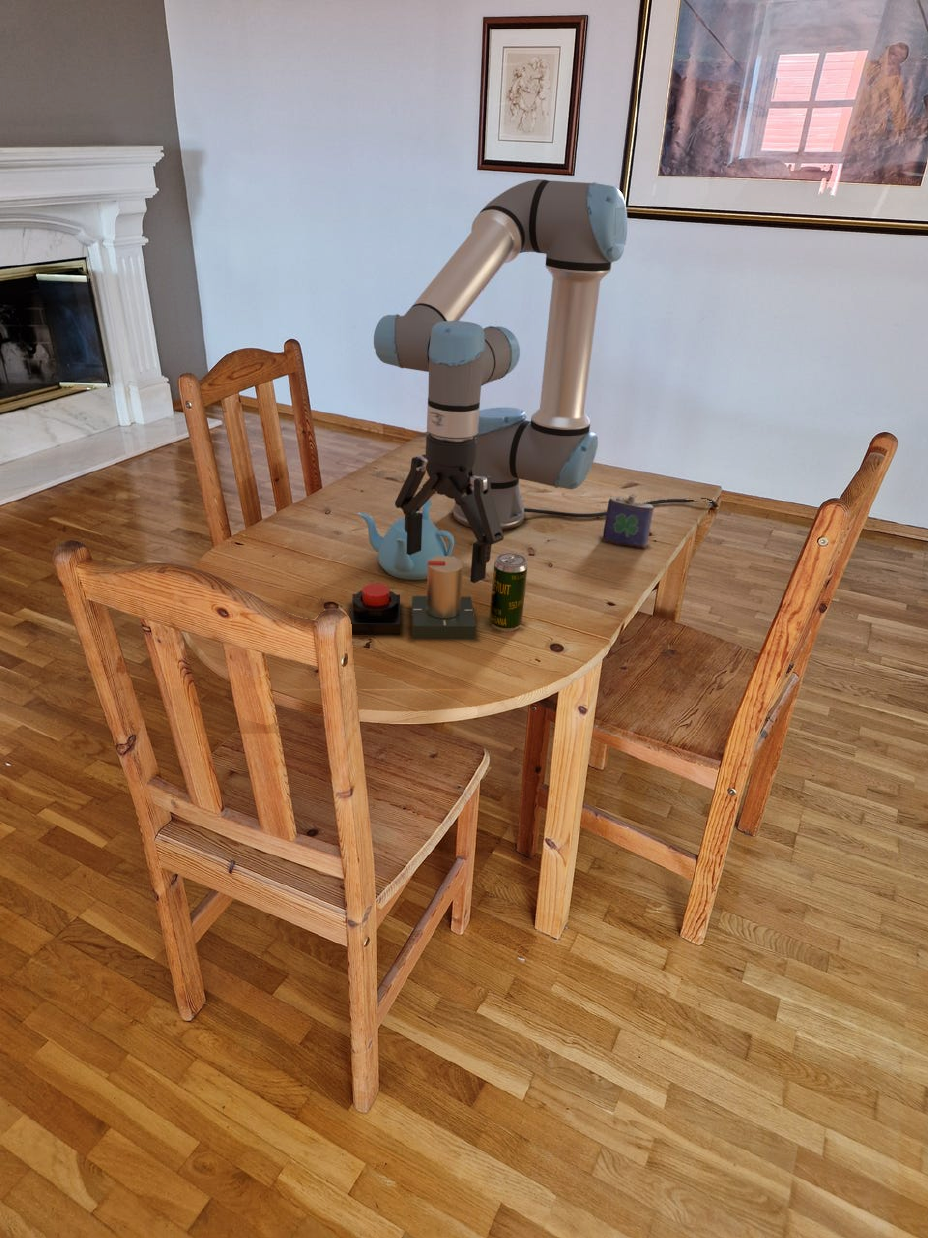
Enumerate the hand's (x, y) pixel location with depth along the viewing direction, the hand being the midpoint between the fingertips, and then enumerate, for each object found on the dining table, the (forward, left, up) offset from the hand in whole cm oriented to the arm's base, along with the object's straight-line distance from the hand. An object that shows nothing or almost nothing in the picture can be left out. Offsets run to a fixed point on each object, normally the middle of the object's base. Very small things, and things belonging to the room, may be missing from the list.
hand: (444, 565), depth 129 cm
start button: (+11, -1, -7) cm, 13 cm away
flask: (-40, -34, -11) cm, 53 cm away
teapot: (+5, -21, -11) cm, 24 cm away
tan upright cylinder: (0, 0, -8) cm, 8 cm away
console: (0, 0, -11) cm, 11 cm away
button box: (+11, -1, -11) cm, 15 cm away
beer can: (-11, 0, -11) cm, 15 cm away
